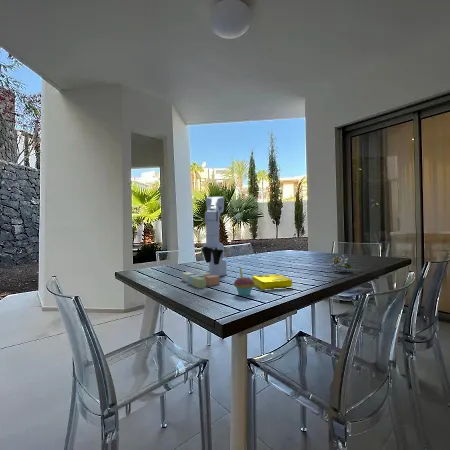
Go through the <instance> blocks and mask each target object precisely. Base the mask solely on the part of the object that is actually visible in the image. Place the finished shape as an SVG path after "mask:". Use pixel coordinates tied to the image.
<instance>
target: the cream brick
mask: <svg viewBox="0 0 450 450" xmlns="http://www.w3.org/2000/svg"><path fill="white" fill-rule="evenodd" d="M205 276H210V272H209V271H203V272H202V278H205Z"/></svg>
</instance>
